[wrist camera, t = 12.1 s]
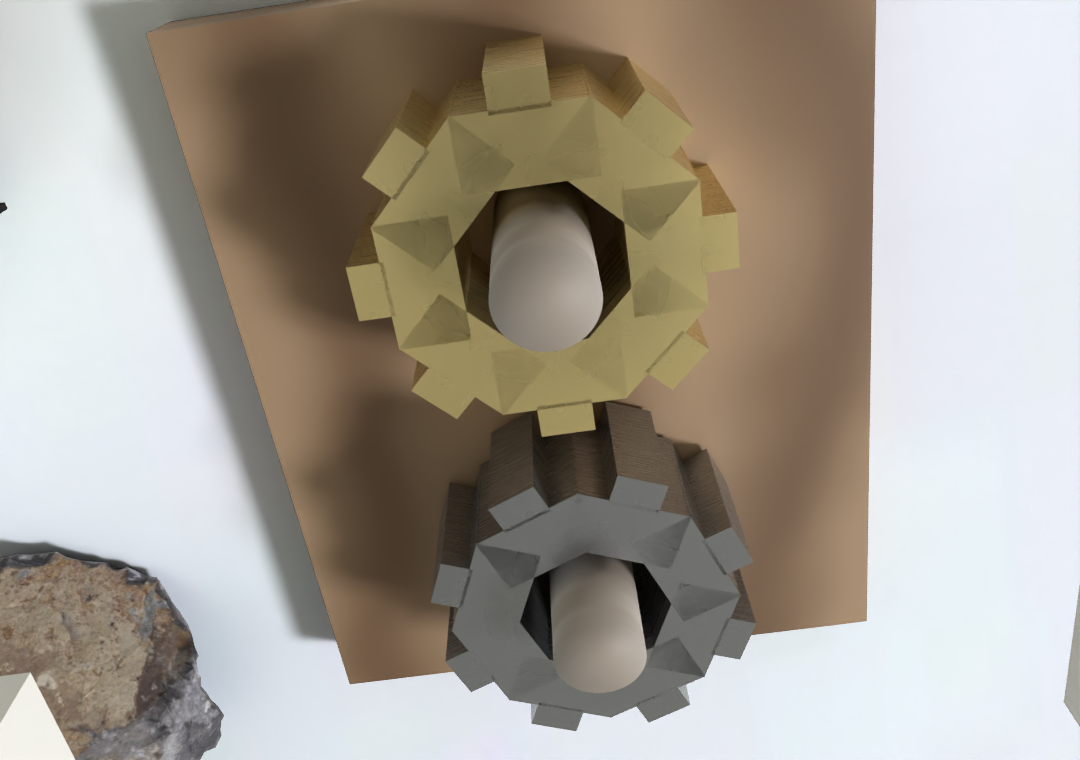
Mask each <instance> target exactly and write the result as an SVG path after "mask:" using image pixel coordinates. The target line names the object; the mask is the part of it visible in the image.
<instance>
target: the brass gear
mask: <svg viewBox="0 0 1080 760" xmlns="http://www.w3.org/2000/svg"><path fill="white" fill-rule="evenodd" d="M693 129H694V128H693V127H692V125H691V123H690V122H689V120H688V119H687V117H686V116H685V114H684V113H683V111H682V109H681V108H680V106H679V105H678V103H677V102H676V100H675V99H674V97H673V96H672V94H671V92H670V91H669V90H668V89H667V88H665V87H664V86H663V85H662V84H660V83H659V82H658V81H657V80H655V79H654V78H653V77H652V76H650V75H649V74H648V73H647V72H645V71H644V70H643V69H642V68H640V67H639V66H638V65H637V64H635V63H634V62H633V61H632V60H630V59H629V58H628V57H627V58H626V59H625V60H624V62H623V63H622V64H621V66H620V67H619V68H618V70H617V71H616V72H615V74H614V75H613V76H612V77H611V79H610V80H609V81H608V83H607V82H606V81H604V80H603V79H602V78H601V77H599V76H598V75H597V74H595V73H594V72H593V71H592V70H590V69H589V68H588V67H587V66H585V65H584V64H583V63H582V62H580V61H579V62H576V63H569V64H563V65H556V66H549V67H546V60H545V53H544V46H543V39H542V34H540V35H534V36H527V37H521V38H514V39H508V40H501V41H494V42H488V43H486V49H485V55H484V62H483V68H482V77H476V78H470V79H463V80H457V81H456V84H455V85H454V86H453V88H452V89H451V91H450V92H449V94H448V95H447V97H446V98H445V99H444V101H443V102H442V104H441V105H440V107H439V108H437V107H436V106H435V105H433V104H432V103H431V102H429V101H428V100H426V99H425V98H424V97H422V96H421V95H420V94H418V93H417V92H415V91H414V90H413V89H412V91H411V92H410V94H409V95H408V97H407V98H406V100H405V101H404V103H403V104H402V106H401V107H400V108H399V110H398V111H397V113H396V114H395V116H394V117H393V119H392V120H391V122H390V123H389V125H388V126H387V128H386V129H385V131H384V132H383V134H382V136H381V138H380V140H379V142H378V144H377V146H376V148H375V151H374V153H373V155H372V157H371V159H370V161H369V163H368V165H367V167H366V170H365V172H364V174H363V176H362V178H363V179H364V180H366V181H367V182H369V183H370V184H372V185H373V186H375V187H376V188H378V189H379V190H381V191H382V192H383V193H384V194H383V196H382V199H381V201H380V204H379V207H378V209H377V212H373V213H368V214H367V217H366V219H365V222H364V224H363V227H362V229H361V232H360V234H359V236H358V239H357V241H356V244H355V246H354V249H353V251H352V254H351V256H350V258H349V261H348V263H347V266H346V271H347V275H348V279H349V283H350V287H351V291H352V295H353V299H354V303H355V307H356V311H357V315H358V319H359V321H365V320H372V319H379V318H387V317H392V320H393V324H394V329H395V333H396V337H397V342H398V346H399V348H398V349H399V350H402V351H403V352H405V353H406V354H408V355H409V356H411V357H413V358H414V359H416V360H417V363H416V368H415V373H414V378H413V383H412V388H411V391H412V392H414V393H416V394H417V395H419V396H421V397H422V398H424V399H425V400H427V401H429V402H430V403H432V404H433V405H435V406H437V407H438V408H440V409H442V410H443V411H445V412H446V413H448V414H450V415H451V416H453V417H454V418H456V419H458V417H459V416H460V415H461V414H462V413H463V411H464V410H465V409H466V408H467V406H468V405H469V404H470V403H471V402H472V400H473V399H474V398H475V397H476V398H478V399H479V400H481V401H482V402H484V403H485V404H487V405H489V406H490V407H492V408H493V409H495V410H497V411H498V412H500V413H501V414H502V415H505V414H513V413H520V412H528V411H535V410H537V411H538V417H539V423H540V429H541V436H542V437H544V436H552V435H559V434H567V433H574V432H582V431H589V430H596V429H595V421H594V414H593V407H592V403H594V402H602V401H609V400H617V399H624V398H625V399H626V398H627V397H628V396H629V395H630V393H631V392H632V391H633V390H634V389H635V388H636V387H637V386H638V385H639V383H640V382H641V381H642V380H643V379H644V378H645V377H646V376H647V374H650V375H651V376H653V377H654V378H656V379H657V380H659V381H660V382H662V383H663V384H664V385H666V386H667V387H669V388H670V389H672V390H673V389H674V388H675V387H676V386H677V385H678V384H679V383H680V382H681V380H682V379H683V378H684V377H685V376H686V375H687V374H688V373H689V372H690V371H691V370H692V368H693V367H694V366H695V365H696V364H697V363H698V362H699V361H700V360H701V359H702V357H703V356H704V355H705V354H706V353H707V352H708V351H709V348H708V345H707V342H706V340H705V337H704V335H703V332H702V330H701V327H700V324H699V322H698V317H699V316H700V315H701V314H702V313H703V312H704V311H705V310H706V308H707V307H709V303H708V291H707V276H706V273H708V272H715V271H722V270H729V269H736V268H740V260H739V241H738V221H737V211H736V209H735V208H734V206H733V204H732V203H731V201H730V200H729V198H728V196H727V195H726V193H725V191H724V190H723V188H722V187H721V185H720V183H719V182H718V180H717V178H716V177H715V175H714V174H713V172H712V170H711V169H710V167H709V165H708V164H703V165H696V166H692V164H691V162H690V161H689V159H688V157H687V155H686V154H685V152H684V150H683V148H682V147H681V144H682V143H683V142H684V140H685V139H686V138H687V137H688V135H689V134H690V133H691V132H692V130H693ZM563 181H569V182H570V183H571V184H573V185H574V186H575V187H577V188H578V189H580V190H581V191H582V192H584V193H585V194H586V195H588V196H589V197H590V198H592V199H593V200H594V201H596V202H597V203H599V204H600V205H601V206H603V207H604V208H605V209H607V210H608V211H609V212H611V213H612V214H614V215H615V223H616V233H615V234H614V236H613V237H612V238H611V239H610V240H609V242H608V243H607V244H606V245H605V247H604V248H603V249H602V250H601V251H600V253H599V254H598V255H597V256H596V261H597V266H598V271H599V276H600V281H601V286H602V292H603V306H602V310H601V314H600V317H599V319H598V321H597V323H596V325H595V326H594V328H593V329H592V330H591V332H590V333H589V334H588V335H587V336H586V337H585V338H583V339H582V340H581V341H579V342H578V343H576V344H575V345H573V346H570V347H568V348H565V349H562V350H558V351H553V352H538V351H532V350H528V349H525V348H522V347H520V346H518V345H516V344H514V343H512V342H511V341H510V340H508V339H507V338H506V337H505V336H504V335H503V334H502V333H501V332H500V331H499V329H498V328H497V327H496V325H495V323H494V321H493V319H492V317H491V313H490V309H489V282H490V266H491V265H490V264H489V263H487V262H486V261H484V260H483V259H481V258H480V257H479V256H477V255H476V254H474V253H473V252H472V246H471V241H470V235H469V230H468V227H469V226H470V225H471V223H472V222H473V221H474V219H475V218H476V216H477V215H478V214H479V212H480V211H481V210H482V208H483V207H484V206H485V204H486V203H487V202H488V200H489V199H490V198H491V196H492V195H493V194H494V192H495V191H501V190H508V189H515V188H522V187H529V186H535V185H542V184H549V183H556V182H563Z"/></svg>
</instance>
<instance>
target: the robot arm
mask: <svg viewBox="0 0 1080 760" xmlns="http://www.w3.org/2000/svg"><path fill="white" fill-rule="evenodd" d="M1064 703H1065V705H1066V706H1067V708H1068V709H1069V711H1070V712H1071V714H1072V715H1073V717H1074V719H1075V720H1076V722H1077V723H1078V725H1079V726H1080V587H1079V595H1078V602H1077V609H1076V617H1075V624H1074V631H1073V639H1072V646H1071V653H1070V661H1069V668H1068V676H1067V683H1066V690H1065V698H1064ZM0 760H75V758H74V756H73V754H72V752H71V750H70V748H69V746H68V745H67V743H66V741H65V739H64V737H63V735H62V733H61V731H60V729H59V727H58V725H57V723H56V721H55V719H54V717H53V715H52V713H51V711H50V709H49V708H48V706H47V704H46V702H45V700H44V698H43V696H42V694H41V692H40V690H39V688H38V686H37V684H36V682H35V680H34V678H33V676H32V674H31V672H29V673H22V674H14V675H6V676H0Z"/></svg>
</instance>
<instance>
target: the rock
mask: <svg viewBox="0 0 1080 760" xmlns="http://www.w3.org/2000/svg"><path fill="white" fill-rule="evenodd" d="M197 657H198V654H197V651H196V649H195V646H194V642H193V638H192V634H191V632H190V629H189V627H188V624H187V623H186V621H185V620H184V618H183V617H182V615H181V613H180V612H179V610H178V609H177V608H176V607H175V605H174V604H173V603H172V601H171V599H170V597H169V596H168V594H167V592H166V591H165V589H164V587H163V586H162V584H161V583H160V581H159V580H158V579H157V577H149V576H146V575H144V574H142V573H140V572H137V571H135V570H133V569H131V568H129V567H127V566H126V567H124V568H123V569H120V570H118V569H117V568H115V567H113V566H112V565H110V564H109V563H107V562H91V561H83V560H78V559H74V558H69V557H66V556H64V555H62V554H60V553H58V552H48V553H40V554H33V555H21V554H16V555H12V556H7V557H1V558H0V676H6V675H14V674H22V673H29V672H31V674H32V676H33V678H34V680H35V682H36V684H37V686H38V688H39V690H40V692H41V694H42V696H43V698H44V700H45V702H46V704H47V706H48V708H49V709H50V711H51V713H52V715H53V717H54V719H55V721H56V723H57V725H58V727H59V729H60V731H61V733H62V735H63V737H64V739H65V741H66V743H67V745H68V746H69V748H70V750H71V752H72V754H73V756H74V758H75V760H200V759H201V757H202V755H203V753H204V752H205V751H207V750H210V749H213V748H215V747H216V745H217V743H218V741H219V739H220V737H221V732H220V727H221V720H222V718H223V717H224V715H223V713H222V712H221V710H220V709H219V707H218V706H217V705H216V704H215V703H214V702H213V701H211V699H210V698H209V696H208V695H207V693H206V692H205V691H204V689H203V688H202V687H201V677H200V676H199V675H198V672H197V662H196V660H197Z"/></svg>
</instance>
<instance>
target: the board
mask: <svg viewBox="0 0 1080 760" xmlns="http://www.w3.org/2000/svg"><path fill="white" fill-rule="evenodd" d="M875 32H876V0H307V1H301V2H294V3H288V4H282V5H275V6H269V7H262V8H256V9H249V10H243V11H237V12H230V13H224V14H217V15H211V16H204V17H198V18H192V19H185V20H179V21H172V22H169V23H167V24H165V25H163V26H161V27H159V28H157V29H155V30H153V31H151V32H149V33H147V34H146V35H147V39H148V42H149V45H150V48H151V51H152V55H153V58H154V61H155V64H156V67H157V71H158V74H159V77H160V80H161V83H162V86H163V90H164V93H165V96H166V99H167V102H168V106H169V109H170V112H171V115H172V118H173V122H174V125H175V128H176V131H177V134H178V138H179V141H180V144H181V147H182V150H183V153H184V157H185V160H186V163H187V166H188V169H189V173H190V176H191V179H192V182H193V185H194V189H195V192H196V195H197V198H198V201H199V204H200V208H201V211H202V214H203V217H204V220H205V224H206V227H207V230H208V233H209V236H210V240H211V243H212V246H213V249H214V252H215V256H216V259H217V262H218V265H219V268H220V271H221V275H222V278H223V281H224V284H225V287H226V291H227V294H228V297H229V300H230V303H231V307H232V310H233V313H234V316H235V319H236V323H237V326H238V329H239V332H240V335H241V338H242V342H243V345H244V348H245V351H246V354H247V358H248V361H249V364H250V367H251V370H252V374H253V377H254V380H255V383H256V386H257V389H258V393H259V396H260V399H261V402H262V405H263V409H264V412H265V415H266V418H267V421H268V425H269V428H270V431H271V434H272V437H273V441H274V444H275V447H276V450H277V453H278V456H279V460H280V463H281V466H282V469H283V472H284V476H285V479H286V482H287V485H288V488H289V492H290V495H291V498H292V501H293V504H294V508H295V511H296V514H297V517H298V520H299V523H300V527H301V530H302V533H303V536H304V539H305V543H306V546H307V549H308V552H309V555H310V559H311V562H312V565H313V568H314V571H315V575H316V578H317V581H318V584H319V587H320V590H321V594H322V597H323V600H324V603H325V606H326V610H327V613H328V616H329V619H330V622H331V626H332V629H333V632H334V635H335V638H336V641H337V645H338V648H339V651H340V654H341V657H342V661H343V664H344V667H345V670H346V673H347V677H348V680H349V683H350V684H356V683H364V682H372V681H380V680H388V679H397V678H405V677H413V676H421V675H429V674H437V673H446V672H454V671H453V670H452V669H451V668H450V667H449V665H448V664H447V663H446V662H445V660H446V649H447V637H448V626H449V614H450V606H446V605H441V604H435V603H431V595H432V587H433V578H434V569H435V560H436V551H437V543H438V534H439V525H440V517H441V513H442V510H443V506H444V502H445V498H446V494H447V490H448V486H449V482H450V483H455V484H460V485H465V486H470V487H475V485H476V481H477V477H478V473H479V470H480V465H481V464H483V463H484V462H486V461H488V460H490V454H491V432H493V431H495V430H497V429H499V428H501V427H503V426H504V425H506V424H508V423H510V422H512V421H514V420H516V419H518V418H520V417H522V416H523V415H525V414H527V413H529V412H532V413H533V414H534V416H535V417H536V419H537V420H538V422H539V417H538V411H537V410H535V411H528V412H520V413H513V414H505V415H502V414H501V413H500V412H498V411H497V410H495V409H493V408H492V407H490V406H489V405H487V404H485V403H484V402H482V401H481V400H479V399H478V398H476V397H475V398H474V399H473V400H472V402H471V403H470V404H469V405H468V406H467V408H466V409H465V410H464V411H463V413H462V414H461V415H460V416H459V417H458V419H456V418H454V417H453V416H451V415H450V414H448V413H446V412H445V411H443V410H442V409H440V408H438V407H437V406H435V405H433V404H432V403H430V402H429V401H427V400H425V399H424V398H422V397H421V396H419V395H417V394H416V393H414V392H412V391H411V388H412V383H413V378H414V373H415V368H416V363H417V360H416V359H414V358H413V357H411V356H409V355H408V354H406V353H405V352H403V351H402V350H399V349H398V348H399V346H398V342H397V337H396V333H395V329H394V324H393V320H392V317H387V318H379V319H372V320H365V321H359V319H358V315H357V311H356V307H355V303H354V299H353V295H352V291H351V287H350V283H349V279H348V275H347V271H346V266H347V263H348V261H349V258H350V256H351V254H352V251H353V249H354V246H355V244H356V241H357V239H358V236H359V234H360V232H361V229H362V227H363V224H364V222H365V219H366V217H367V214H368V213H373V212H377V209H378V207H379V204H380V201H381V199H382V196H383V194H384V193H383V192H382V191H381V190H379V189H378V188H376V187H375V186H373V185H372V184H370V183H369V182H367V181H366V180H364V179H363V178H362V176H363V174H364V172H365V170H366V167H367V165H368V163H369V161H370V159H371V157H372V155H373V153H374V151H375V148H376V146H377V144H378V142H379V140H380V138H381V136H382V134H383V132H384V131H385V129H386V128H387V126H388V125H389V123H390V122H391V120H392V119H393V117H394V116H395V114H396V113H397V111H398V110H399V108H400V107H401V106H402V104H403V103H404V101H405V100H406V98H407V97H408V95H409V94H410V92H411V91H412V89H413V90H414V91H415V92H417V93H418V94H420V95H421V96H422V97H424V98H425V99H426V100H428V101H429V102H431V103H432V104H433V105H435V106H436V107H437V108H439V107H440V105H441V104H442V102H443V101H444V99H445V98H446V97H447V95H448V94H449V92H450V91H451V89H452V88H453V86H454V85H455V84H456V81H457V80H463V79H470V78H476V77H482V68H483V62H484V55H485V49H486V43H488V42H494V41H501V40H508V39H514V38H521V37H527V36H534V35H540V34H542V39H543V46H544V53H545V60H546V67H549V66H556V65H563V64H569V63H576V62H579V61H580V62H582V63H583V64H584V65H585V66H587V67H588V68H589V69H590V70H592V71H593V72H594V73H595V74H597V75H598V76H599V77H601V78H602V79H603V80H604V81H606V82H607V83H608V81H609V80H610V79H611V77H612V76H613V75H614V74H615V72H616V71H617V70H618V68H619V67H620V66H621V64H622V63H623V62H624V60H625V59H626V58H627V57H628V58H629V59H630V60H632V61H633V62H634V63H635V64H637V65H638V66H639V67H640V68H642V69H643V70H644V71H645V72H647V73H648V74H649V75H650V76H652V77H653V78H654V79H655V80H657V81H658V82H659V83H660V84H662V85H663V86H664V87H665V88H667V89H668V90H669V91H670V92H671V94H672V96H673V97H674V99H675V100H676V102H677V103H678V105H679V106H680V108H681V109H682V111H683V113H684V114H685V116H686V117H687V119H688V120H689V122H690V123H691V125H692V127H693V128H694V129H693V130H692V132H691V133H690V134H689V135H688V137H687V138H686V139H685V140H684V142H683V143H682V144H681V147H682V148H683V150H684V152H685V154H686V155H687V157H688V159H689V161H690V162H691V164H692V166H696V165H703V164H708V165H709V167H710V169H711V170H712V172H713V174H714V175H715V177H716V178H717V180H718V182H719V183H720V185H721V187H722V188H723V190H724V191H725V193H726V195H727V196H728V198H729V200H730V201H731V203H732V204H733V206H734V208H735V209H736V211H737V221H738V241H739V260H740V268H736V269H729V270H722V271H715V272H708V273H706V276H707V291H708V303H709V307H707V308H706V310H705V311H704V312H703V313H702V314H701V315H700V316H699V317H698V322H699V324H700V327H701V330H702V332H703V335H704V337H705V340H706V342H707V345H708V348H709V351H708V352H707V353H706V354H705V355H704V356H703V357H702V359H701V360H700V361H699V362H698V363H697V364H696V365H695V366H694V367H693V368H692V370H691V371H690V372H689V373H688V374H687V375H686V376H685V377H684V378H683V379H682V380H681V382H680V383H679V384H678V385H677V386H676V387H675V388H674V389H673V390H672V389H670V388H669V387H667V386H666V385H664V384H663V383H662V382H660V381H659V380H657V379H656V378H654V377H653V376H651V375H650V374H647V376H646V377H645V378H644V379H643V380H642V381H641V382H640V383H639V385H638V386H637V387H636V388H635V389H634V390H633V391H632V392H631V393H630V395H629V396H628V397H627V398H626V399H625V398H624V399H617V400H609V401H602V402H594V403H592V407H593V414H594V421H595V423H596V424H598V423H599V420H600V417H601V414H602V411H603V408H604V405H605V402H611V403H615V404H620V405H624V406H629V407H634V408H638V409H643V410H648V411H651V415H652V419H653V424H654V428H655V432H656V436H657V437H662V438H666V439H671V442H672V443H673V445H674V446H675V448H676V450H677V451H678V453H679V454H680V456H681V458H682V459H683V460H684V459H686V458H688V457H690V456H692V455H694V454H696V453H698V452H700V451H703V450H705V449H707V450H708V452H709V454H710V455H711V457H712V459H713V460H714V462H715V464H716V465H717V467H718V469H719V470H720V472H721V474H722V475H723V477H724V478H725V480H726V482H727V485H728V488H729V491H730V494H731V497H732V500H733V503H734V506H735V509H736V512H737V515H738V518H739V521H740V524H741V527H742V530H743V533H744V536H745V539H746V542H747V545H748V548H749V551H750V554H751V557H752V560H753V562H752V563H750V564H748V565H746V566H744V567H742V568H739V569H740V572H741V576H742V579H743V582H744V585H745V588H746V592H747V595H748V598H749V601H750V604H751V608H752V611H753V614H754V617H755V620H756V626H755V628H754V630H753V632H752V634H751V635H756V634H764V633H773V632H781V631H789V630H797V629H805V628H813V627H822V626H830V625H838V624H846V623H854V622H862V621H867V557H868V491H869V426H870V360H871V295H872V229H873V163H874V98H875ZM468 230H469V235H470V241H471V246H472V252H473V253H474V254H476V255H477V256H479V257H480V258H481V259H483V260H484V261H486V262H487V263H489V264H490V265H491V266H490V282H489V309H490V313H491V317H492V319H493V321H494V323H495V325H496V327H497V328H498V329H499V331H500V332H501V333H502V334H503V335H504V336H505V337H506V338H507V339H508V340H510V341H511V342H512V343H514V344H516V345H518V346H520V347H522V348H525V349H528V350H532V351H538V352H553V351H558V350H562V349H565V348H568V347H570V346H573V345H575V344H576V343H578V342H579V341H581V340H582V339H583V338H585V337H586V336H587V335H588V334H589V333H590V332H591V330H592V329H593V328H594V326H595V325H596V323H597V321H598V319H599V317H600V314H601V310H602V306H603V292H602V286H601V281H600V276H599V271H598V266H597V261H596V256H597V255H598V254H599V253H600V251H601V250H602V249H603V248H604V247H605V245H606V244H607V243H608V242H609V240H610V239H611V238H612V237H613V236H614V234H615V233H616V223H615V215H614V214H612V213H611V212H609V211H608V210H607V209H605V208H604V207H603V206H601V205H600V204H599V203H597V202H596V201H594V200H593V199H592V198H590V197H589V196H588V195H586V194H585V193H584V192H582V191H581V190H580V189H578V188H577V187H575V186H574V185H573V184H571V183H570V182H569V181H563V182H556V183H549V184H542V185H535V186H529V187H522V188H515V189H508V190H501V191H495V192H494V194H493V195H492V196H491V198H490V199H489V200H488V202H487V203H486V204H485V206H484V207H483V208H482V210H481V211H480V212H479V214H478V215H477V216H476V218H475V219H474V221H473V222H472V223H471V225H470V226H469V227H468ZM632 563H635V562H632V561H627V560H622V559H617V558H612V557H607V556H602V555H596V554H591V553H584V554H582V555H580V556H578V557H576V558H574V559H572V560H570V561H568V562H566V563H563V564H561V565H559V566H557V567H555V568H553V569H551V570H549V571H547V573H549V578H550V599H551V621H552V642H553V662H554V667H555V670H556V672H557V674H558V675H559V677H560V678H561V679H562V680H563V681H564V682H565V683H566V684H568V685H569V686H571V687H573V688H575V689H578V690H581V691H584V692H590V693H606V692H612V691H615V690H618V689H621V688H623V687H625V686H627V685H629V684H630V683H632V682H633V681H634V680H635V679H637V677H638V676H639V675H640V674H641V672H642V671H643V669H644V667H645V664H646V659H647V652H646V646H645V640H644V634H643V628H642V622H641V615H640V609H639V603H638V597H637V591H636V585H635V579H634V573H633V567H632Z"/></svg>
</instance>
